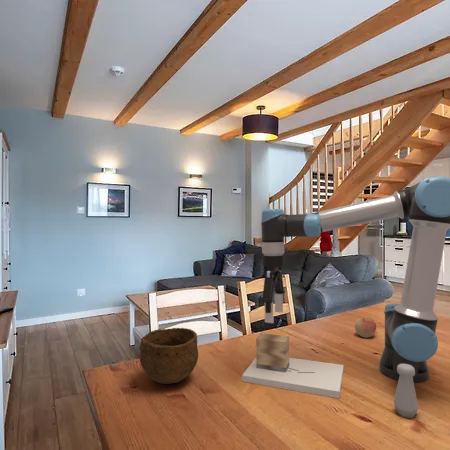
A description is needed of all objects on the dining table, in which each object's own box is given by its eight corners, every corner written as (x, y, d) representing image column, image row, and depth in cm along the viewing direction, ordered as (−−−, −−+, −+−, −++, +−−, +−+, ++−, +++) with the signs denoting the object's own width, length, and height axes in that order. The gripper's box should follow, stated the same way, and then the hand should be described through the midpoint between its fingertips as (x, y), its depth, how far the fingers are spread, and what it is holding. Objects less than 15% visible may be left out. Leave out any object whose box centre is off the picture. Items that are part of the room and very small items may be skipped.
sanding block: (289, 365, 120) (289, 336, 120) (285, 372, 115) (285, 342, 115) (261, 361, 124) (261, 333, 124) (256, 368, 118) (256, 338, 118)
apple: (377, 335, 157) (377, 317, 157) (374, 341, 150) (374, 322, 150) (357, 332, 162) (357, 314, 162) (352, 337, 154) (352, 319, 154)
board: (343, 370, 120) (343, 365, 120) (339, 398, 102) (339, 391, 102) (259, 358, 132) (259, 353, 132) (242, 381, 113) (241, 375, 113)
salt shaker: (389, 408, 96) (389, 361, 96) (409, 407, 97) (409, 360, 97) (402, 420, 91) (402, 370, 90) (423, 419, 91) (423, 369, 91)
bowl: (149, 401, 101) (148, 349, 101) (134, 375, 118) (133, 331, 118) (208, 386, 110) (207, 339, 110) (186, 364, 126) (186, 323, 126)
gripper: (271, 251, 132) (272, 307, 132) (251, 258, 109) (252, 326, 109) (291, 251, 129) (292, 309, 129) (275, 258, 106) (276, 328, 106)
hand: (274, 317), depth 119 cm, fingers open, 13 cm apart
